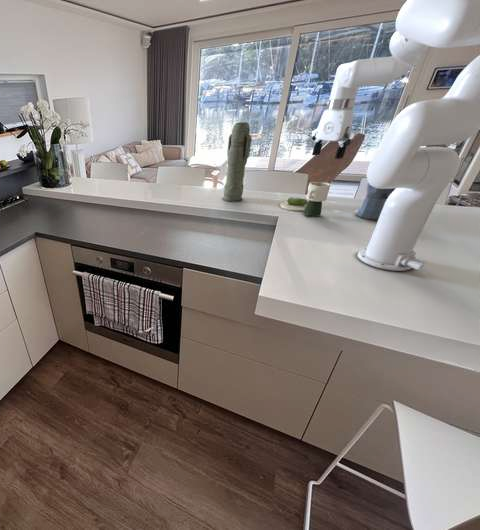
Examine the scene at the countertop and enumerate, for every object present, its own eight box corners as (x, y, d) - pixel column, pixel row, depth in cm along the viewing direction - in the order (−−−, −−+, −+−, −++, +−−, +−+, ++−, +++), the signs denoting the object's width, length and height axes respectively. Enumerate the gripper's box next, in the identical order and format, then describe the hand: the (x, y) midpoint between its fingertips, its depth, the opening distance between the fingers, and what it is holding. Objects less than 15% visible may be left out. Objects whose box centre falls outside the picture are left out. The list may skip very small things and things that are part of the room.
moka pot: (371, 210, 119) (390, 160, 110) (399, 223, 106) (423, 168, 96) (347, 211, 121) (363, 161, 111) (371, 224, 107) (392, 169, 98)
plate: (320, 208, 126) (320, 206, 125) (295, 213, 123) (296, 211, 123) (296, 200, 137) (296, 198, 136) (273, 204, 134) (273, 203, 134)
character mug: (310, 210, 125) (318, 179, 118) (327, 214, 119) (337, 182, 113) (295, 215, 120) (302, 184, 114) (312, 220, 115) (321, 188, 108)
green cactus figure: (236, 203, 139) (247, 123, 122) (217, 198, 148) (224, 123, 131) (248, 199, 143) (259, 121, 126) (228, 195, 152) (236, 122, 135)
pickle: (307, 205, 128) (309, 198, 126) (305, 207, 126) (307, 200, 125) (287, 202, 133) (289, 196, 131) (285, 204, 131) (287, 197, 130)
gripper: (311, 106, 107) (300, 154, 115) (356, 105, 92) (340, 161, 100) (327, 104, 108) (315, 152, 117) (374, 103, 94) (356, 158, 102)
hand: (326, 156), depth 109 cm, fingers open, 9 cm apart
